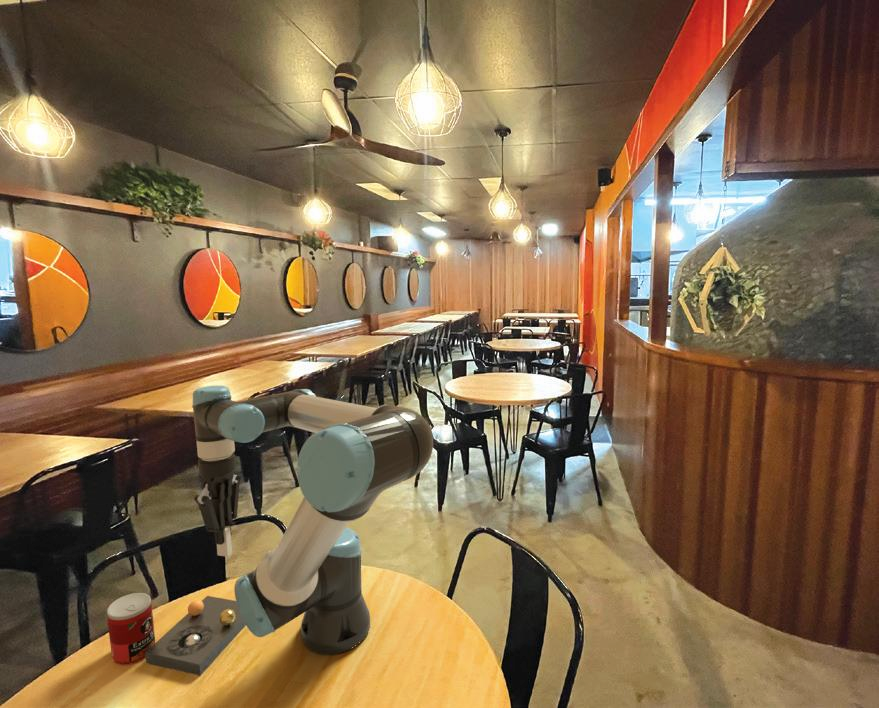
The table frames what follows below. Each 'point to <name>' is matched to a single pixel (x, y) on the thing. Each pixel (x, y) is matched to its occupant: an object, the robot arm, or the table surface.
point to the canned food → (130, 628)
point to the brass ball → (227, 617)
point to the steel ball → (192, 640)
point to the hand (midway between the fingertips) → (224, 554)
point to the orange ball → (195, 607)
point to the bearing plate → (211, 634)
